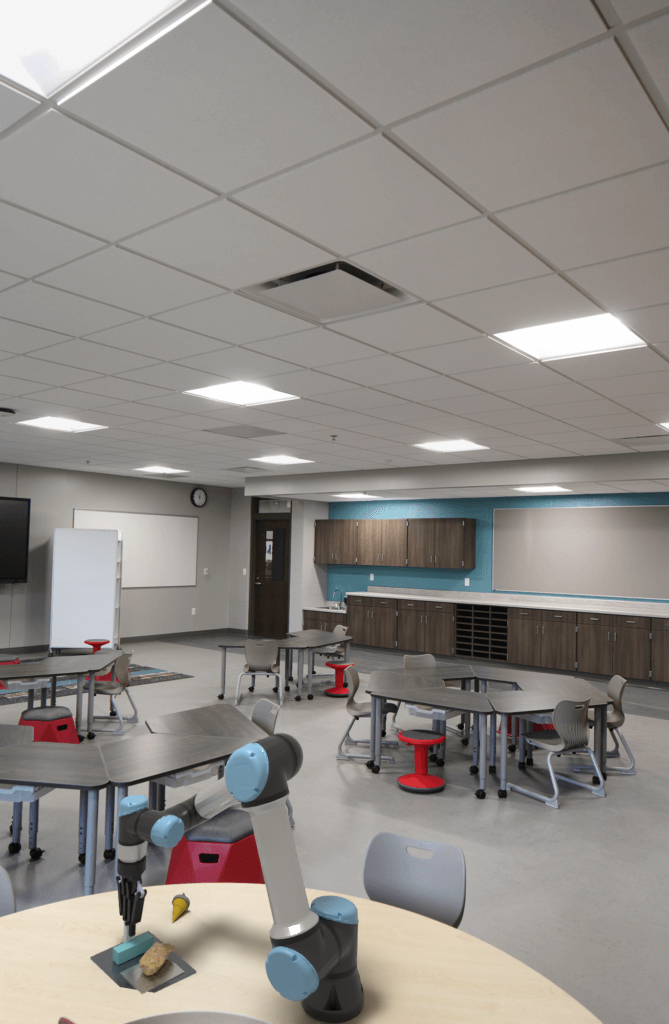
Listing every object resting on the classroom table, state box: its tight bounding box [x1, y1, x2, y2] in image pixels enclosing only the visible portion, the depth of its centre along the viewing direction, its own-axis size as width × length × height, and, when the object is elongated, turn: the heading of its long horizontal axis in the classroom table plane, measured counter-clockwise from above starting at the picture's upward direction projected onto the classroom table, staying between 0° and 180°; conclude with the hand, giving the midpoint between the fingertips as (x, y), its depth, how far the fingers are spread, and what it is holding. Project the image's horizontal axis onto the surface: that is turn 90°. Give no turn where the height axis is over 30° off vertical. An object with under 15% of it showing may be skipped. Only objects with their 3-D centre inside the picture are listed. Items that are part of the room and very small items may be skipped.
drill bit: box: [171, 892, 191, 924], centre depth 194 cm, size 5×5×10 cm
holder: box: [90, 930, 197, 995], centre depth 169 cm, size 24×17×1 cm
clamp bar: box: [113, 931, 153, 965], centre depth 173 cm, size 3×10×3 cm, turn 136°
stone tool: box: [139, 942, 176, 976], centre depth 168 cm, size 9×7×10 cm
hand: (129, 946), depth 175 cm, fingers closed
